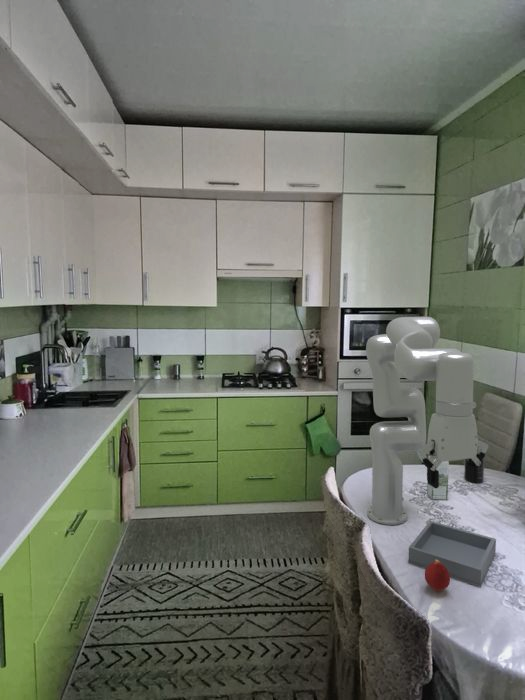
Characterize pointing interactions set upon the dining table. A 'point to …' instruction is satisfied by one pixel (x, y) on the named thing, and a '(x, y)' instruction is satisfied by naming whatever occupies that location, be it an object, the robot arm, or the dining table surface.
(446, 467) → the syrup box
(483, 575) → the tray
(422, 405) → the robot arm
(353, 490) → the dining table surface
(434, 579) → the onion
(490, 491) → the dining table surface
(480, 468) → the supplement bottle
